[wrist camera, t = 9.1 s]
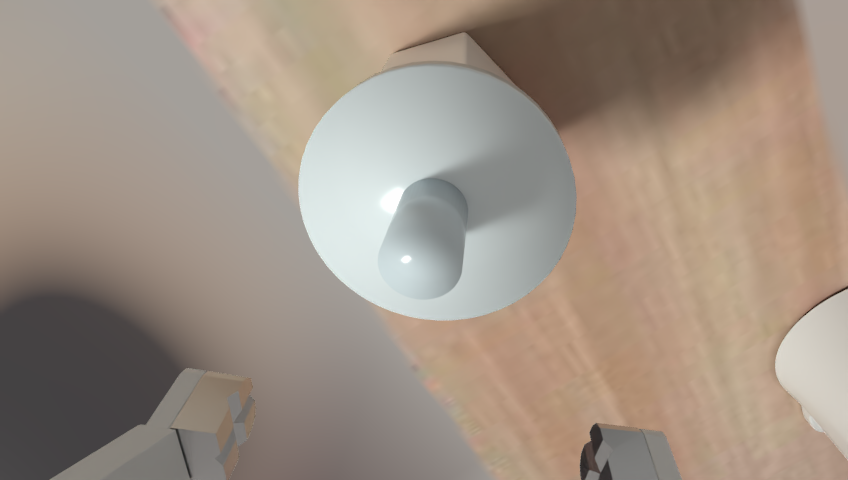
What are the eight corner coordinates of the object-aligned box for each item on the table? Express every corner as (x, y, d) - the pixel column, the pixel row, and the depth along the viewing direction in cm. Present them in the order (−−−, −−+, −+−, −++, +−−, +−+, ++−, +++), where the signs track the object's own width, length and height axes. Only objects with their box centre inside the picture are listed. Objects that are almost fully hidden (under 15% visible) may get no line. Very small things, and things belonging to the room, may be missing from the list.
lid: (604, 78, 18) (641, 120, 13) (541, 319, 23) (552, 407, 19) (303, 44, 18) (240, 73, 14) (312, 286, 24) (269, 362, 19)
